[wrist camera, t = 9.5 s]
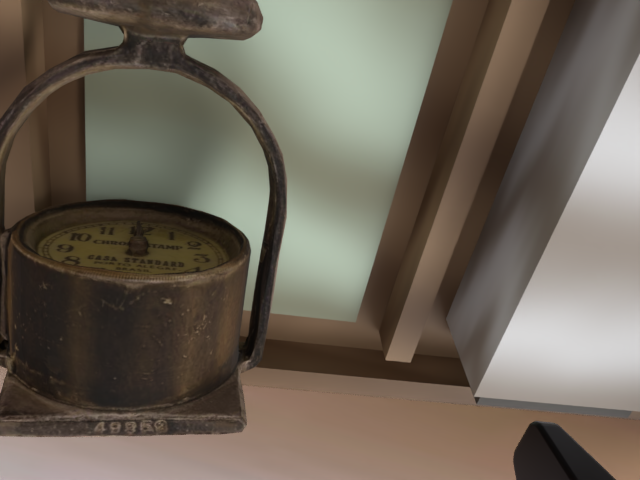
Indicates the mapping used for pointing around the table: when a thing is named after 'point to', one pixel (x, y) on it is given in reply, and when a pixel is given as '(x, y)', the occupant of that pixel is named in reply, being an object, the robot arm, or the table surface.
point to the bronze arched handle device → (135, 265)
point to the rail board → (385, 185)
